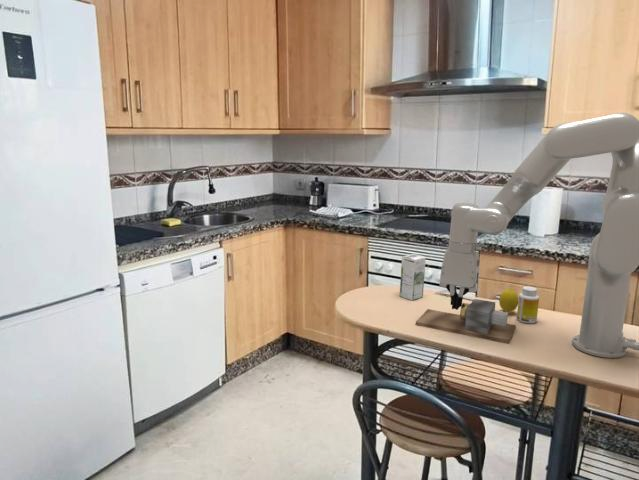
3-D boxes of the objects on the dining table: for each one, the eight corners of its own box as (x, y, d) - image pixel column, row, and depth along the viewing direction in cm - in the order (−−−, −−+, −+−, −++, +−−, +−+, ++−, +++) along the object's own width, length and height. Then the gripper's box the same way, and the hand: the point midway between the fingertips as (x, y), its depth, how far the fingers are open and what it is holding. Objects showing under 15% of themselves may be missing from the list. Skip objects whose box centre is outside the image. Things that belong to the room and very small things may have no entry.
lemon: (519, 312, 155) (522, 288, 153) (513, 317, 151) (515, 292, 149) (502, 308, 159) (504, 284, 157) (495, 313, 155) (497, 288, 153)
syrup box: (410, 293, 173) (412, 253, 170) (423, 297, 168) (426, 256, 165) (399, 296, 169) (401, 255, 166) (412, 301, 165) (415, 259, 162)
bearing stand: (515, 328, 143) (518, 304, 141) (509, 343, 133) (511, 318, 131) (427, 312, 155) (428, 290, 153) (415, 324, 145) (416, 301, 143)
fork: (492, 313, 162) (494, 305, 161) (432, 294, 172) (433, 287, 172) (494, 310, 164) (496, 302, 164) (434, 292, 175) (436, 285, 174)
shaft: (507, 324, 140) (509, 308, 139) (504, 330, 136) (506, 313, 135) (463, 316, 146) (464, 300, 145) (459, 322, 142) (460, 305, 141)
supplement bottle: (540, 322, 147) (544, 290, 145) (525, 325, 145) (529, 292, 143) (527, 316, 152) (530, 284, 150) (512, 318, 150) (515, 286, 148)
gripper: (492, 248, 140) (484, 309, 144) (439, 240, 147) (434, 299, 151) (486, 254, 133) (479, 317, 137) (432, 245, 140) (427, 306, 144)
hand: (455, 307), depth 144 cm, fingers closed
